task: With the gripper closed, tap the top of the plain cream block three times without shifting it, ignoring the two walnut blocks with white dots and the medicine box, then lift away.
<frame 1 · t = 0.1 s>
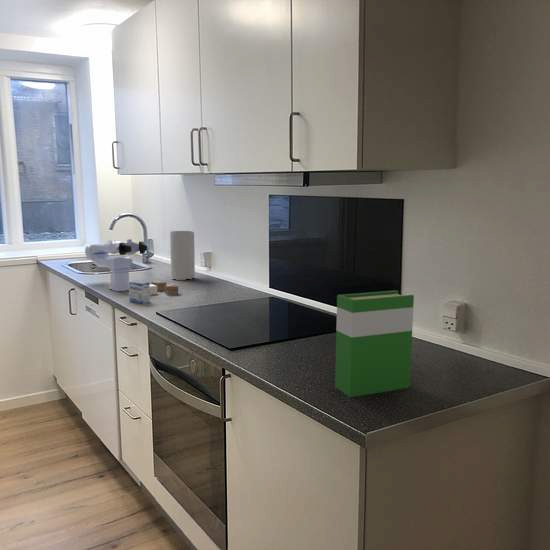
hand: (138, 248, 264), 22 cm above the counter, tool horizontal, fingers open, 7 cm apart
cylinder vase: (183, 279, 316), on the counter
medicine box: (139, 302, 255), on the counter
plain block: (149, 294, 273), on the counter
dotted block a: (159, 290, 282), on the counter
hardback book: (372, 388, 151), on the counter
dotted block b: (171, 294, 273), on the counter
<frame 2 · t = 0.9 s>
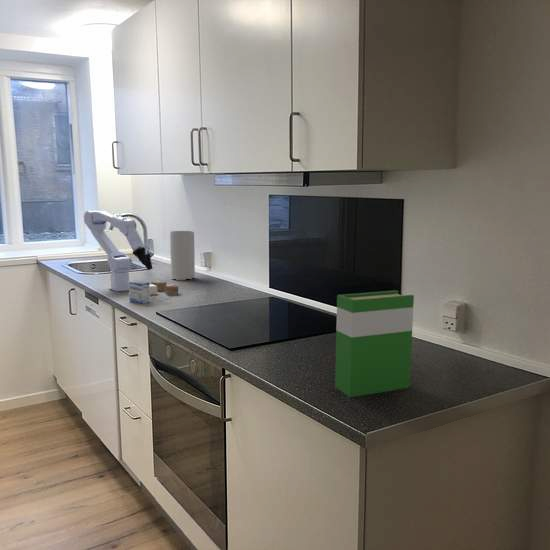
hand: (148, 266, 267), 13 cm above the counter, tool tilted 40°, fingers open, 7 cm apart
nothing on the counter moved.
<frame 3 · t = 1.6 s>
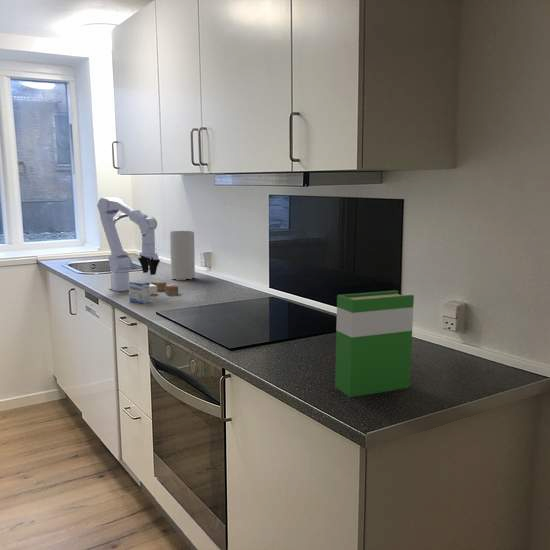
hand: (149, 273, 271), 9 cm above the counter, tool pointing down, fingers open, 7 cm apart
nothing on the counter moved.
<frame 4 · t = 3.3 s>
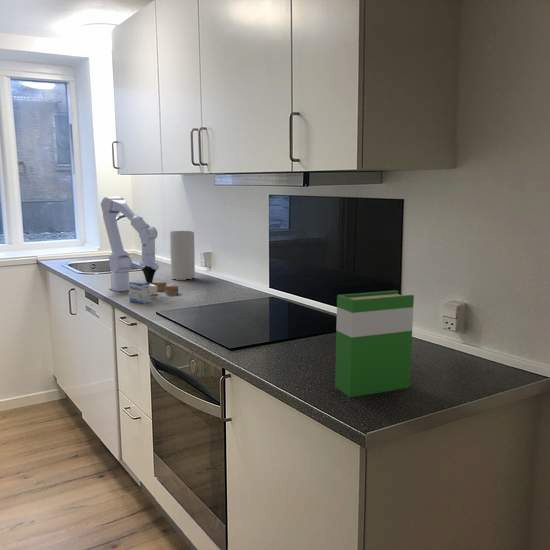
hand: (149, 283, 272), 5 cm above the counter, tool pointing down, fingers closed
nothing on the counter moved.
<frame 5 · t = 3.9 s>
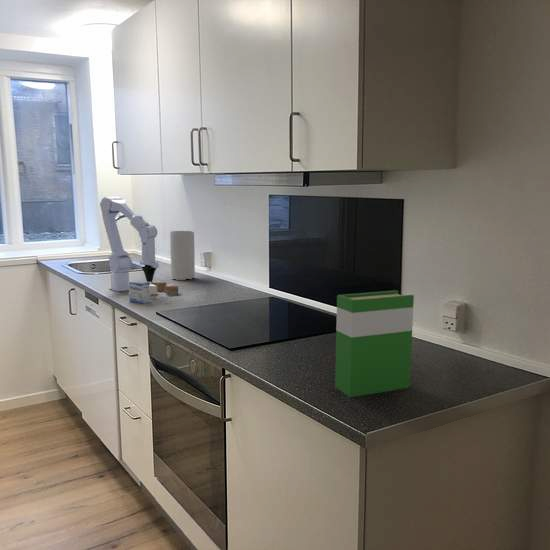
hand: (149, 281, 272), 6 cm above the counter, tool pointing down, fingers closed
nothing on the counter moved.
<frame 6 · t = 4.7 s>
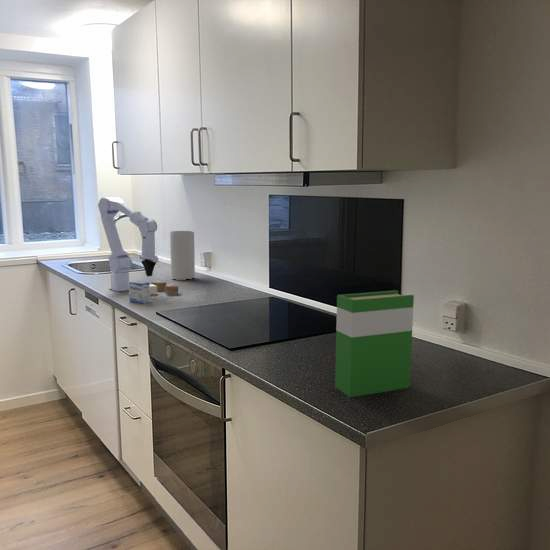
hand: (149, 276, 272), 8 cm above the counter, tool pointing down, fingers closed
nothing on the counter moved.
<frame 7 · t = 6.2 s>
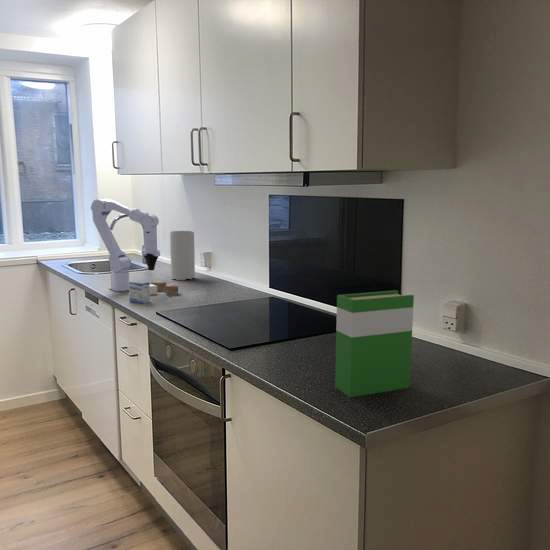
hand: (151, 270, 277), 10 cm above the counter, tool pointing down, fingers closed
nothing on the counter moved.
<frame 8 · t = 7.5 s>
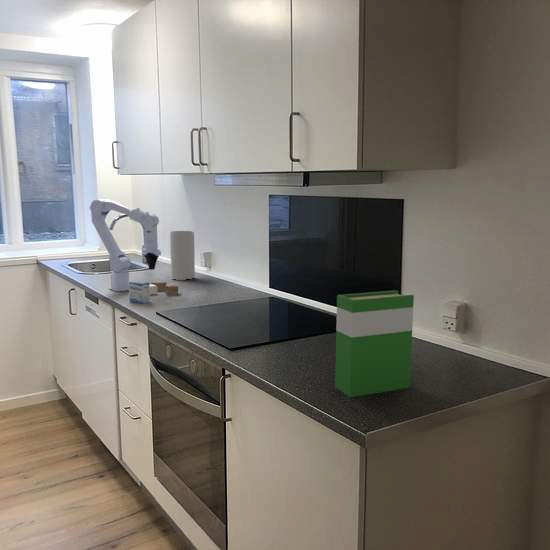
hand: (151, 269, 278), 10 cm above the counter, tool pointing down, fingers closed
nothing on the counter moved.
at the end: plain block moved 0.2 cm from its start; plain block tilted 0°; dotted block b moved 0.2 cm from its start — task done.
